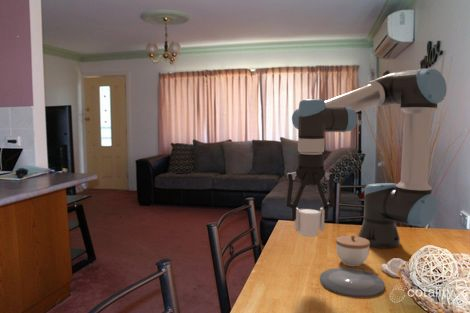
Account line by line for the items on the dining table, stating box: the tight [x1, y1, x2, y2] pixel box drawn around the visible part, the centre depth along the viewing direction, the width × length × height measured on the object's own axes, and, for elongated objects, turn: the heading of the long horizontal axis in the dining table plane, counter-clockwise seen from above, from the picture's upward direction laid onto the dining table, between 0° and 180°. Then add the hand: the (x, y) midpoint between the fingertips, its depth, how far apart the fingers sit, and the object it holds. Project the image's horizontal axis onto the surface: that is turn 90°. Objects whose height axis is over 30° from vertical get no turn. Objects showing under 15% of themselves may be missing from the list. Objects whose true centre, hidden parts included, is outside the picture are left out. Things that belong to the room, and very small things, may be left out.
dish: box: [319, 267, 385, 298], centre depth 115 cm, size 18×18×1 cm
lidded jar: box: [335, 234, 371, 267], centre depth 131 cm, size 11×11×9 cm
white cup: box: [298, 208, 321, 238], centre depth 117 cm, size 7×7×7 cm
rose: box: [380, 257, 407, 278], centre depth 124 cm, size 10×4×10 cm
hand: (309, 229), depth 118 cm, fingers closed on white cup, 7 cm apart
